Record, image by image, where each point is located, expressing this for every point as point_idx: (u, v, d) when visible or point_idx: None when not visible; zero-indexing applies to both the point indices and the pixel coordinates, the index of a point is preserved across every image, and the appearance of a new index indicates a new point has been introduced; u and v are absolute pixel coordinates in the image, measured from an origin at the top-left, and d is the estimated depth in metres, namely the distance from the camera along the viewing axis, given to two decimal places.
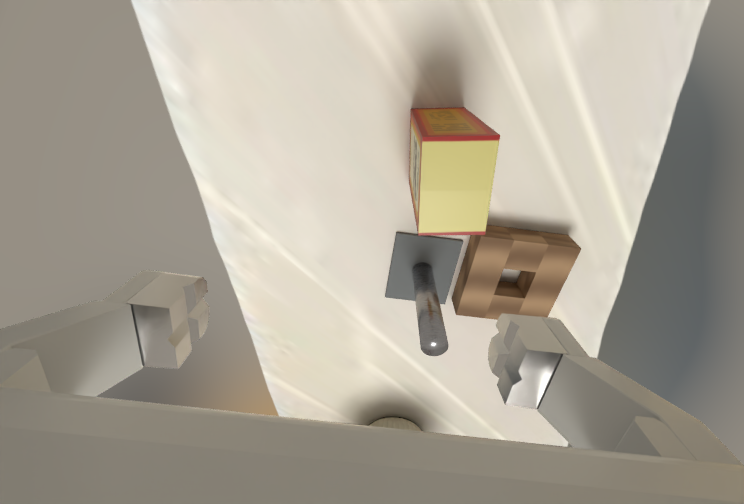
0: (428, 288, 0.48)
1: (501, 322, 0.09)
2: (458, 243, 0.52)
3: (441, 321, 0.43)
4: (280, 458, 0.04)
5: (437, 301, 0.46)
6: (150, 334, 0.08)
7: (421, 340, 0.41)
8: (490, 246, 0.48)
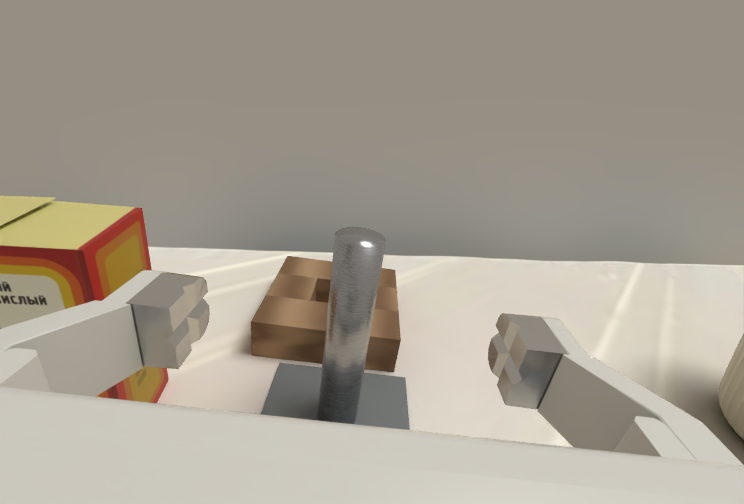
0: None
1: (501, 322, 0.09)
2: (281, 368, 0.32)
3: None
4: (280, 458, 0.04)
5: None
6: (150, 334, 0.08)
7: (353, 253, 0.21)
8: (271, 312, 0.34)
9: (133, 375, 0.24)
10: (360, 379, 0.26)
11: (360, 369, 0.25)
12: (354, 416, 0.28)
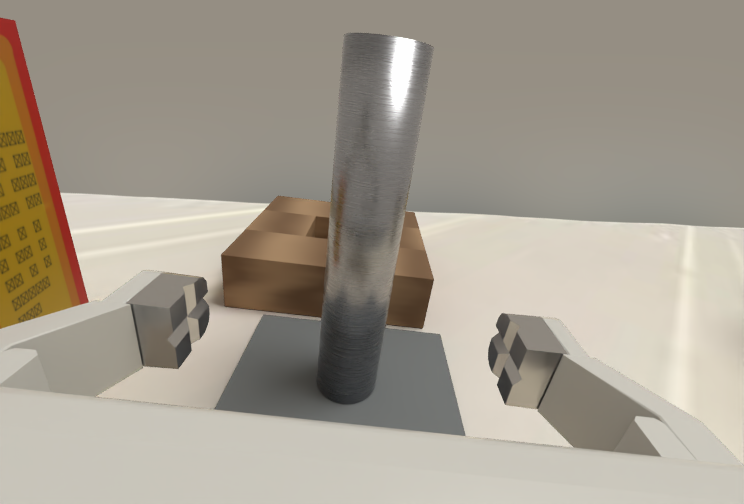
0: (325, 269, 0.16)
1: (501, 322, 0.09)
2: (265, 320, 0.23)
3: None
4: (280, 458, 0.04)
5: None
6: (150, 334, 0.08)
7: (380, 51, 0.11)
8: (251, 246, 0.24)
9: (5, 305, 0.14)
10: (384, 317, 0.16)
11: (384, 297, 0.15)
12: (373, 380, 0.18)
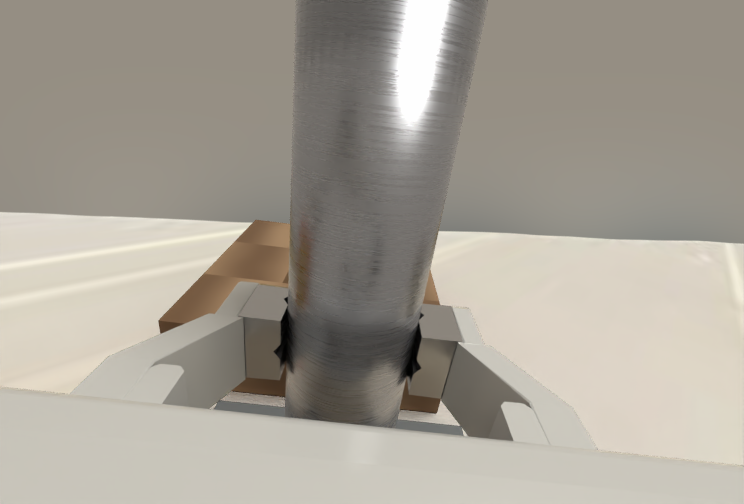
0: None
1: None
2: None
3: None
4: (280, 458, 0.04)
5: None
6: (258, 346, 0.08)
7: (371, 4, 0.05)
8: (205, 303, 0.18)
9: None
10: None
11: None
12: None
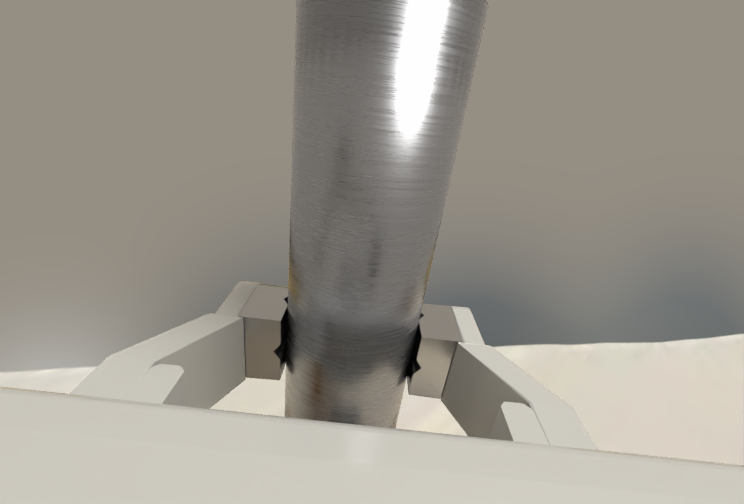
0: None
1: None
2: None
3: None
4: (280, 458, 0.04)
5: None
6: (258, 346, 0.08)
7: (372, 8, 0.05)
8: None
9: None
10: None
11: None
12: None
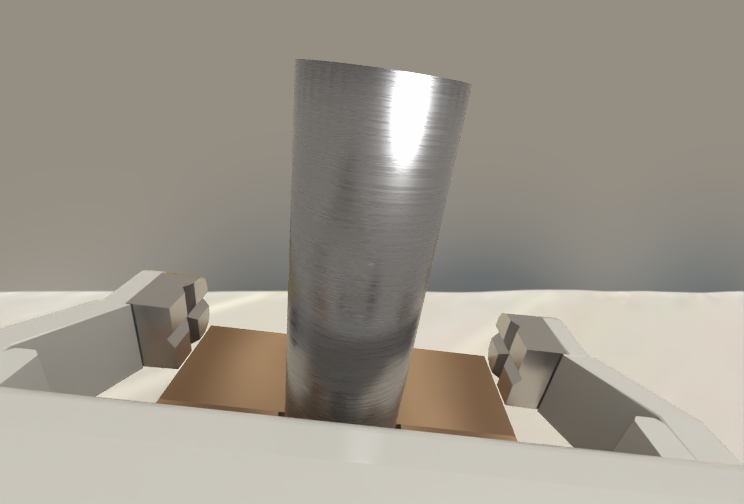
0: None
1: (501, 322, 0.09)
2: None
3: None
4: (280, 458, 0.04)
5: None
6: (150, 334, 0.08)
7: (363, 100, 0.05)
8: None
9: None
10: None
11: None
12: None
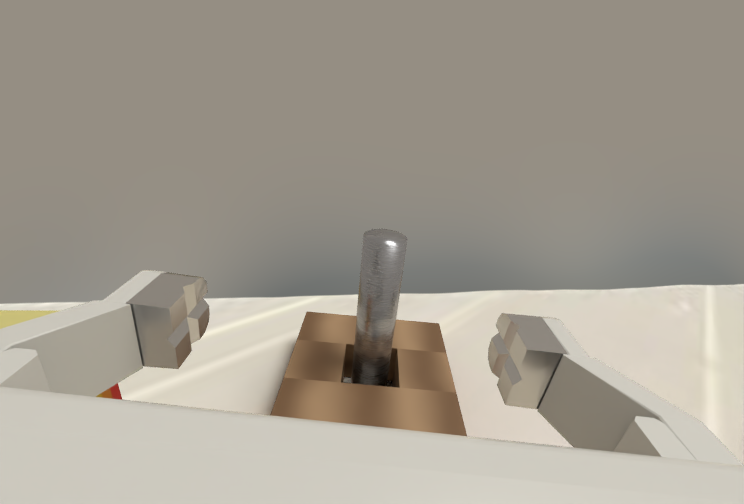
0: None
1: (501, 322, 0.09)
2: None
3: None
4: (280, 458, 0.04)
5: None
6: (150, 334, 0.08)
7: (381, 250, 0.24)
8: (292, 407, 0.25)
9: None
10: (388, 363, 0.29)
11: (387, 354, 0.28)
12: None
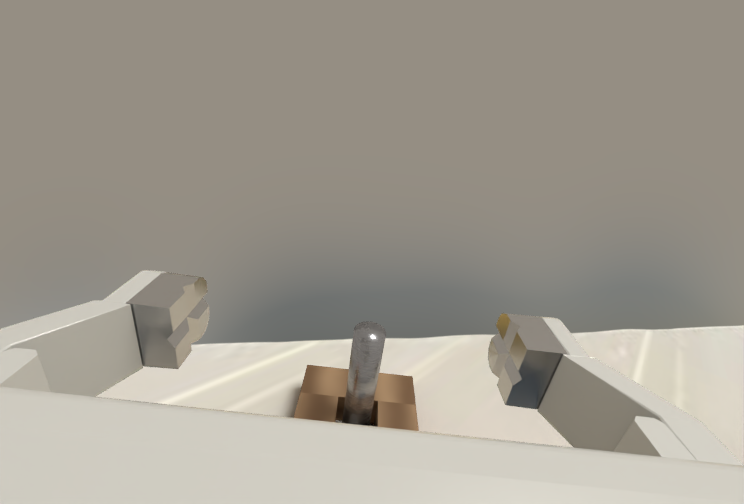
0: (345, 397, 0.39)
1: (501, 322, 0.09)
2: None
3: None
4: (280, 458, 0.04)
5: None
6: (150, 334, 0.08)
7: (366, 345, 0.33)
8: None
9: None
10: (369, 417, 0.39)
11: (369, 410, 0.38)
12: None
